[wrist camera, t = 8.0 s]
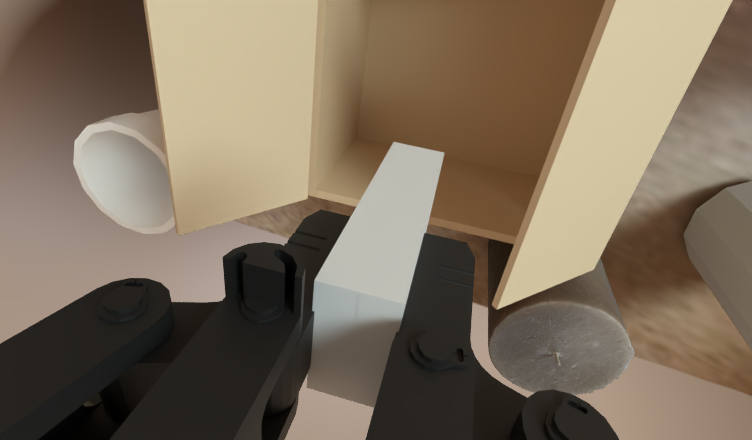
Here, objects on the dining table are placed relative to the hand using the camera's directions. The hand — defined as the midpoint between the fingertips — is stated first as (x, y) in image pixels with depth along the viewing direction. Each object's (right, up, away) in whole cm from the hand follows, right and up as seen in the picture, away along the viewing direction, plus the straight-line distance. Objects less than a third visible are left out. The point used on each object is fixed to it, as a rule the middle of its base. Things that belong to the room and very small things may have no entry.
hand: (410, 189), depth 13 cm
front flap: (+10, +3, +8) cm, 13 cm away
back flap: (-8, +7, +10) cm, 15 cm away
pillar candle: (+15, -4, +29) cm, 33 cm away
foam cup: (-17, +8, +31) cm, 36 cm away
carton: (+8, +12, +22) cm, 26 cm away
